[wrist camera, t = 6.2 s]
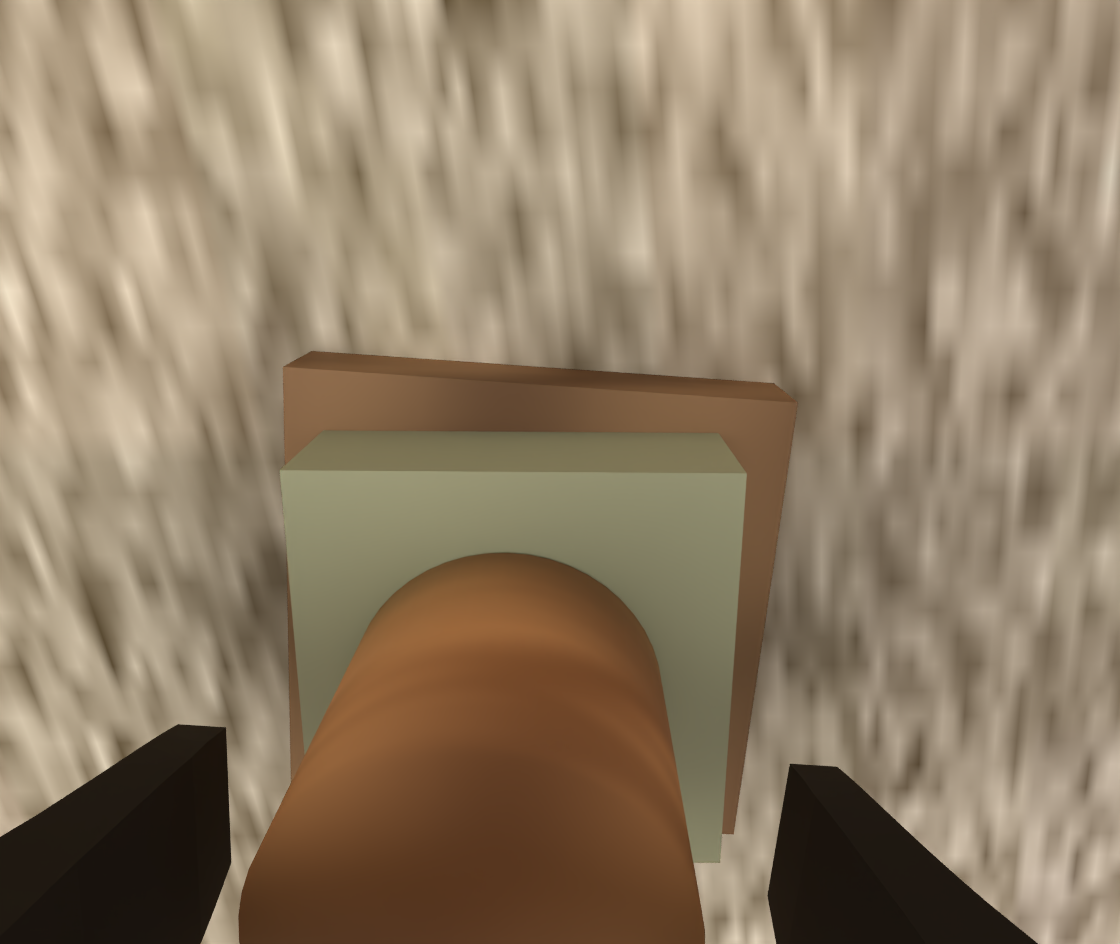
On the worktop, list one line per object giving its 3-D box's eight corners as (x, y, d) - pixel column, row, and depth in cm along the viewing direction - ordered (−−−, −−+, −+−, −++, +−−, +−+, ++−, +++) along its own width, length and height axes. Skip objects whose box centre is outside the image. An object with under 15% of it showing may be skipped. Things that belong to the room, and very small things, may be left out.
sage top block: (718, 433, 16) (746, 473, 13) (698, 774, 18) (719, 862, 15) (323, 430, 16) (279, 470, 13) (348, 770, 18) (313, 860, 15)
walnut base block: (766, 377, 18) (797, 402, 15) (713, 760, 20) (733, 834, 18) (321, 346, 18) (283, 367, 15) (323, 736, 20) (291, 807, 18)
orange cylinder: (722, 651, 14) (799, 888, 9) (559, 871, 15) (550, 1179, 10) (446, 494, 13) (372, 662, 8) (300, 739, 14) (164, 1004, 10)
